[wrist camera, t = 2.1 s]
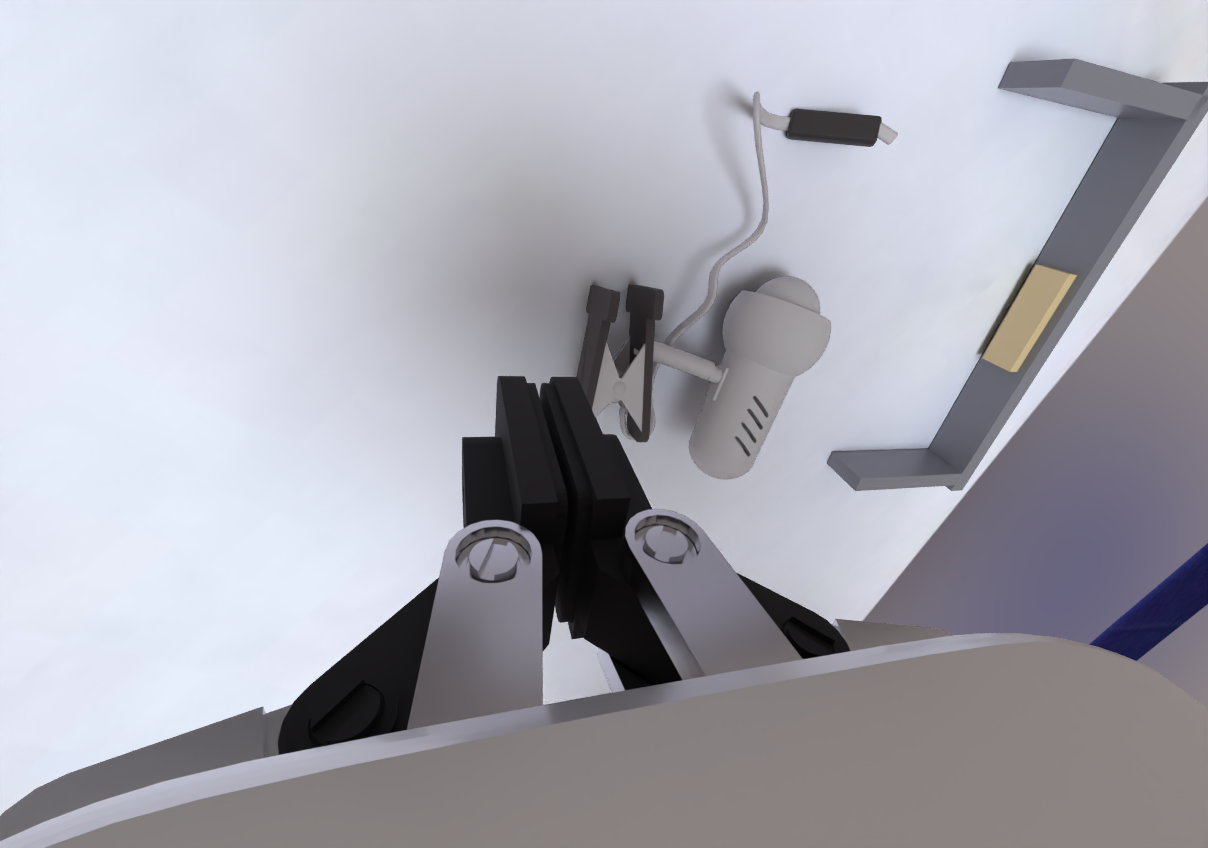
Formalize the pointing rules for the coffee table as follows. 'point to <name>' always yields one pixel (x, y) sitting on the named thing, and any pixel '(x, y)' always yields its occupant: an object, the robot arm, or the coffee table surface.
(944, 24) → the coffee table surface
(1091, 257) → the grey u-shaped handle
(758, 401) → the clip-on lamp
